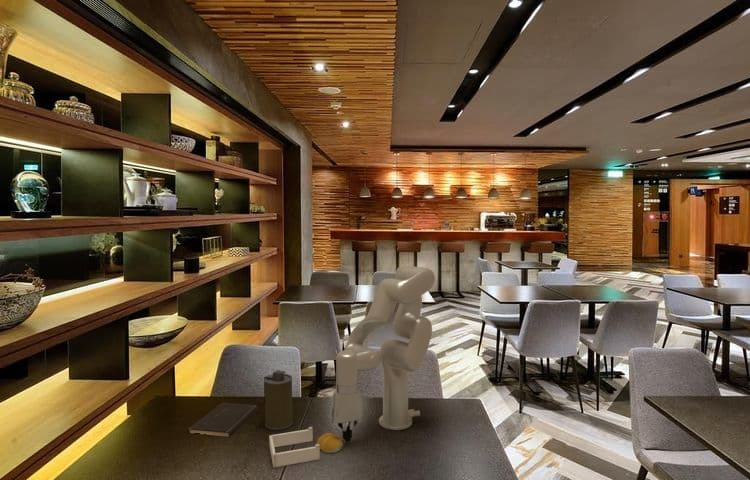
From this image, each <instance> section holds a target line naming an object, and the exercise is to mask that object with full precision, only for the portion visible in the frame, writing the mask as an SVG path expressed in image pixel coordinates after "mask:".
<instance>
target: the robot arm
mask: <svg viewBox="0 0 750 480" xmlns="http://www.w3.org/2000/svg"><path fill="white" fill-rule="evenodd" d="M394 277H395V278H391V277H389V278H384V279H382V280H381V281H380V283H379V284H378V286H377V289H376V292H375V294H374V297H373V299H372V303H371V305H370V308H369V311H368V314H367V315H366V316H365V317H364V318H363V319H362V320H361V321H359V323H358V324H357V325H356V326H355V327H354V328H353V329H352V330H351V332H350V334H349V337H348V339H347V342H346V345H345V348H344V350H340V351H339V352H338V353H336V359H335V361H336V368H335V369H336V371H335V373H336V377H335V378H336V379H335V381H336V382H335V387H336V388H335V390H334V391H333V394H332V401H331V418H332V420H331V425H332V426H333V427H339V428H340V429H341V430H342V432H341V433H342V437H341V438H342V440H343V441H345V443H348V442H351V441H352V438H353V430H354V428H355V426H356V425H357V424H360V423H362V422H363V420H364V419H363V413H364V412H363V400H362V395H361V390H360V388H361V387H363V382H359V372H369V371H374V370H376V369H377V368H378V367H379V365H380V364H381V369H382V414H381V416H380V417H379V418H378V424H379V425H380V427H382V428H384V429H386V430H390V431H401V430H405V429H409V428H410V427H411V426H412V425H413V417H420V416H421V412H420V410H415V409H414V408H411V409H409V376H408V372H414V373H415V372H417V371H419V369H420V368H421V367H422V366H423V363H424V361H425V358H426V355H427V352H428V348H429V345H430V342H431V338H432V335H433V325H432V322H431V321H430V319H428V318H427V317H426V316H423V315H420V313H421V310H422V306H423V298H422V296H423V295H425V294H427V292H429V291H430V290H432V288H433V286H434V285H435V282H436V276H435V273H434V272H433V270H432V269H430V268H428V267H421V266H413V265H401V266H399V267H398V268H397V269H396V270H395V274H394ZM397 304H399V305H398V308H397V311H396V313H395V317H394V320H393V323H392V332H393V334H394V335H396V336H397V337H399V338H403V339H407V340H409V341H408V342H406V341H403V340H400V339H395V338H390V339H386V340H385V341H384V342H382V344H381V347H380V348H379V349H380V350H379V352H378V351H377V350H375V349H373V348H372V347H371V348H370V347H368V346H365V345H364V343H365V341H366V339H367V337H368V336H369V335H370V334H372V332H375V331H376V330H378V329H382V328H385V327H387V326H389V324H390V323H391V322H392V318H393V315H394V312H395V309H396V306H397Z"/></svg>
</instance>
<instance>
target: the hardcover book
mask: <svg viewBox="0 0 750 480" xmlns="http://www.w3.org/2000/svg"><path fill="white" fill-rule="evenodd" d="M258 410H259V406H258V405H257V404H245V403H244V404H243V403H233V402H231V403H230V402H220V403H219V404H218V405H217V406H215V408H213V409H212V410H211V411H210V412H208V413H207V414H206V415H204V416H202V418H200V419H199V420H198V421H197V422H195V423H194V424H193V425H191V426H190V427H189V428H188V430H189V433H190V434H194V433H200V434H199V435H204V434H206V436H207V435H208V436H216V437H227V438H230V437H231V436H233V434H234V433H235V432H237V430H238V429H239V428H240V427H242V425H244V424H243V423H246V422H247V421H248V420H249V419H250V418H251V417H252V416H253V415H254V414H255V413H256V412H258Z"/></svg>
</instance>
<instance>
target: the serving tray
mask: <svg viewBox="0 0 750 480" xmlns="http://www.w3.org/2000/svg"><path fill="white" fill-rule="evenodd" d="M313 433H314V430H313V426H309V427H308V428H306V429H302V430H295V431H290V432H289V431H288V432H284V433H277V434H271V435H270V434H269V440H268V441H269V450H270V451H269V452H270V456H271V462H272V468H279V467H284V466H290V465H294V464H301V463H306V462H312V461H313V462H314V461H317V460H320V459H321V456H320V454H321V453H320V451H321V449H320V445H319V444H317V443H316V444H314V446H311V447H310V446H309V447H304V448H299V449H293V450H288V451H287V450H286V451H282V452H276V449H275V448H279V447H285V446H291V445H297V444H304V443H308V442H313V441H314V439H313V437H314V436H313Z"/></svg>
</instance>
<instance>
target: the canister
mask: <svg viewBox="0 0 750 480" xmlns="http://www.w3.org/2000/svg"><path fill="white" fill-rule="evenodd" d="M263 391H264V392H263V396H264V397H263V399H264V401H263V402H264V406H265V407H264V408H265V409H264V411H265V413H264V414H265V416H264V417H265V420H264V421H265V423H264V426H265V428H267V429H268V430H272V431H279V430H284V429H288V428H290V427H291V426H292V425H293V423H294V420H293V419H294V418H293V376H292V375H290V374H287V373H286V371H283V370H280V369H277V370H275V371H274V372H272V374H271V375H269V374H268V375H265V376H263Z"/></svg>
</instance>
